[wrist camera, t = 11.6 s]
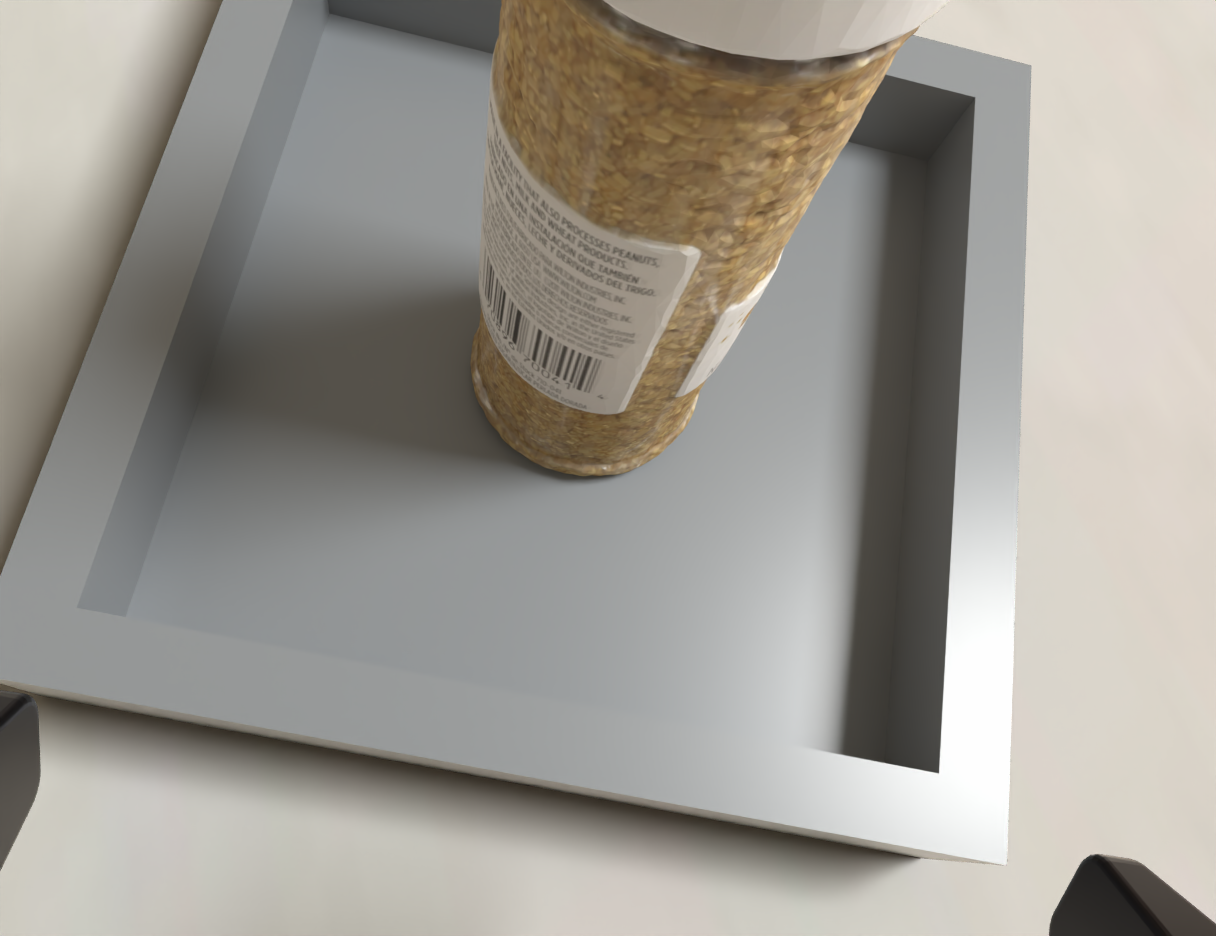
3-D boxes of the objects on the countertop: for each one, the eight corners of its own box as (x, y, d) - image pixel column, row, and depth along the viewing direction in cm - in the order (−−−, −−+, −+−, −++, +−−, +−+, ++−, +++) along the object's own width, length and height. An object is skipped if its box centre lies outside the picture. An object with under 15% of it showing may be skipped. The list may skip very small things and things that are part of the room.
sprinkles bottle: (735, 426, 20) (1218, -211, 8) (530, 521, 19) (706, -52, 6) (627, 239, 21) (897, -595, 9) (425, 318, 20) (399, -525, 7)
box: (39, 695, 18) (-38, 671, 15) (293, -15, 23) (273, -130, 20) (923, 858, 19) (1006, 865, 16) (963, 152, 24) (1031, 65, 22)
